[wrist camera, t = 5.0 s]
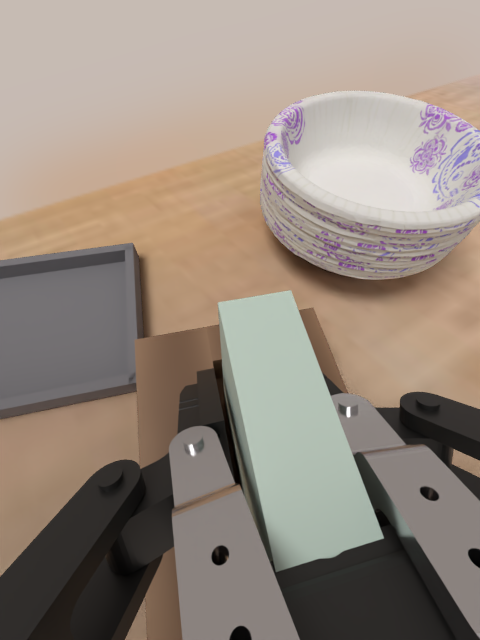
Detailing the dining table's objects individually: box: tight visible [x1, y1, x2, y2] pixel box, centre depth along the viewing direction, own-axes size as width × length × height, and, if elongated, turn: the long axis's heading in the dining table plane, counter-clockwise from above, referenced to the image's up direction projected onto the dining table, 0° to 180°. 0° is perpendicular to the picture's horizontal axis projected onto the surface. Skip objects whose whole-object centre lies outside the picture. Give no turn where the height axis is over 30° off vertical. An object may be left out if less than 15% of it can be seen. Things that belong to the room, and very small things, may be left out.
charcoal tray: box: [0, 243, 144, 419], centre depth 18 cm, size 15×11×2 cm
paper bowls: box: [260, 91, 480, 280], centre depth 21 cm, size 15×15×8 cm
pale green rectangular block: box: [218, 290, 384, 572], centre depth 10 cm, size 2×5×11 cm, turn 12°
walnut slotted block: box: [135, 308, 348, 640], centre depth 14 cm, size 10×12×4 cm
